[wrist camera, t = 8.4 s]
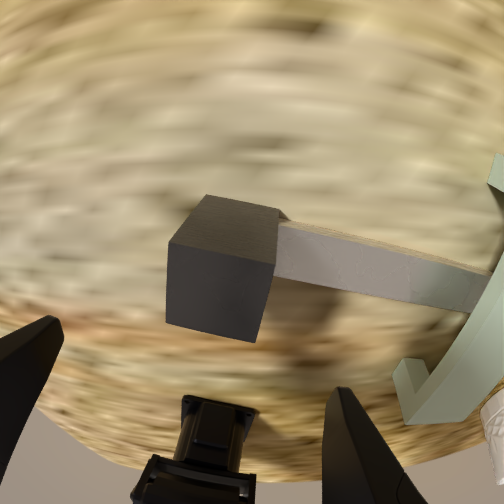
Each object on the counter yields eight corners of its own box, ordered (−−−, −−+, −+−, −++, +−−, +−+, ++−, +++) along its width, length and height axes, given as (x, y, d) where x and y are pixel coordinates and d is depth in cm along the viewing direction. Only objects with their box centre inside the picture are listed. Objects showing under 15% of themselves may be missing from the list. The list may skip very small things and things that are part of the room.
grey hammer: (481, 313, 18) (515, 368, 13) (198, 258, 18) (165, 322, 13) (505, 269, 16) (549, 319, 11) (206, 194, 16) (168, 241, 11)
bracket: (446, 377, 21) (462, 421, 17) (391, 374, 22) (404, 424, 17) (546, 184, 13) (592, 211, 9) (496, 152, 13) (549, 175, 9)
